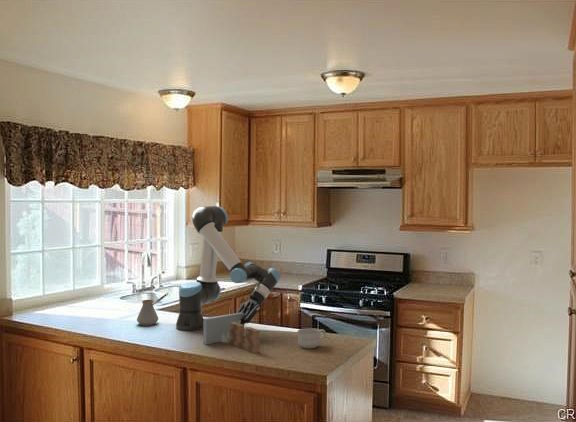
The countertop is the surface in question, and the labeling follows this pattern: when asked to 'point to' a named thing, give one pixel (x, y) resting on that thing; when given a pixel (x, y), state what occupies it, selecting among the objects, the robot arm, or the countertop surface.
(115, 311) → the countertop surface
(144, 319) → the coffee pot
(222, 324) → the slate plate
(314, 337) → the teacup
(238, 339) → the walnut board
